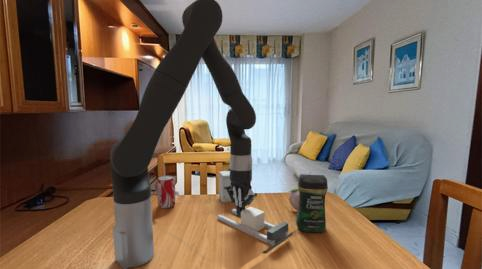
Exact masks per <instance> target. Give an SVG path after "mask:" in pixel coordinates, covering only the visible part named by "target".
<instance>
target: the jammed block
mask: <svg viewBox="0 0 482 269" xmlns="http://www.w3.org/2000/svg"><path fill="white" fill-rule="evenodd" d="M264 221H265V211H263V210H261V209H258V208H256V207H253V206H249V207H247V208H245V210H242V211H241V217H240V224H242V225H244V226H246V227H248V228H250V229H253V230H255V231H257V232H260V231H261V230H263V229H264V228H265V227H264Z"/></svg>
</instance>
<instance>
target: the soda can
mask: <svg viewBox="0 0 482 269" xmlns="http://www.w3.org/2000/svg"><path fill="white" fill-rule="evenodd" d="M157 178H158V180H157V181H156V191H157V192H156V194H157V205H158V207H159V208H162V209H170V208H172V207H174V206H175V205H176V182H175V179H174V176H173V175H161V176H159V177H157Z"/></svg>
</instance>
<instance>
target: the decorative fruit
mask: <svg viewBox="0 0 482 269" xmlns="http://www.w3.org/2000/svg"><path fill="white" fill-rule="evenodd" d="M288 193H289V195H288V201H289V204H290V206H291V207H292V208H293V209H295V210H296V211H298V205H299V194H300V193H299V189H298V188H292V189H290V190H289V191H288Z"/></svg>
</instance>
